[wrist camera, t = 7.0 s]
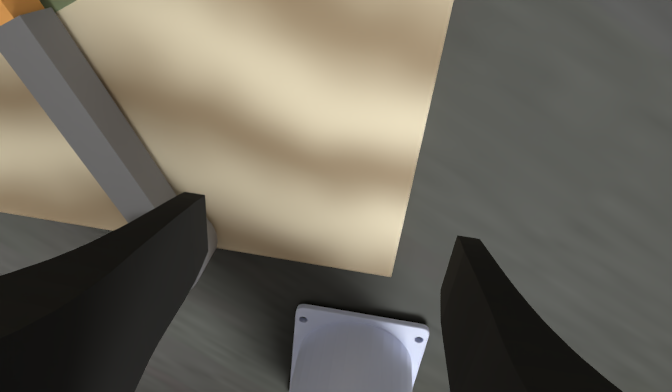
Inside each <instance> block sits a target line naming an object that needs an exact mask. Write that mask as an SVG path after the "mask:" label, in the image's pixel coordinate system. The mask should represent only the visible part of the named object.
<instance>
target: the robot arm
mask: <svg viewBox="0 0 672 392" xmlns="http://www.w3.org/2000/svg"><path fill="white" fill-rule="evenodd" d="M207 253H208V235H207V218H206V201H205V195H202V194H196V193H189V192H183V193H181V194H179V195H177V196H175V197H174V198H172V199H170V200H168V201H166V202H165V203H163V204H161V205H160V206H158V207H156V208H154V209H153V210H151V211H149V212H147V213H146V214H144V215H142V216H140V217H138V218H137V219H135V220H133V221H131V222H130V223H128V224H126V225H124V226H122V227H120V228H118V229H116V230H114V231H112V232H110V233H108V234H106V235H104V236H102V237H100V238H98V239H96V240H94V241H92V242H90V243H88V244H86V245H84V246H81V247H79V248H77V249H74V250H72V251H69V252H67V253H65V254H62V255H60V256H57V257H55V258H52V259H49V260H47V261H44V262H41V263H38V264H35V265H32V266H29V267H26V268H23V269H20V270H17V271H14V272H11V273H8V274H5V275H1V276H0V392H135V389H136V387H137V385H138V383H139V381H140V379H141V376H142V374H143V372H144V370H145V368H146V366H147V364H148V362H149V359H150V357H151V355H152V354H153V352H154V350H155V348H156V346H157V344H158V343H159V341H160V339H161V338H162V336H163V334H164V333H165V331H166V329H167V328H168V326H169V324H170V323H171V321H172V320H173V318H174V316H175V315H176V313H177V311H178V310H179V308H180V306H181V305H182V303H183V301H184V300H185V298H186V296H187V295H188V293H189V291H190V290H191V288H192V286H193V284H194V283H195V281H196V279H197V277H198V275H199V272H200V270H201V268H202V265H203V263H204V260H205V258H206V256H207ZM303 317H306V318H303ZM441 327H442V335H443V343H444V350H445V357H446V364H447V371H448V378H449V385H450V392H622V391H621V390H620V389H619V388H617V387H616V386H615V385H613V384H612V383H611V382H610V381H608V380H607V379H606V378H605V377H603V376H602V375H601V374H600V373H599V372H598V371H596V370H595V369H594V368H593V367H592V366H590V365H589V364H588V363H587V362H586V361H585V360H583V359H582V358H581V357H580V356H579V355H578V354H577V353H576V352H575V351H573V350H572V349H571V348H570V347H569V346H568V345H567V344H566V343H565V342H564V341H563V340H562V339H561V338H560V337H559V336H558V335H557V334H556V333H555V332H554V331H553V330H552V329H551V328H550V327H549V326H548V325H547V324H546V323H545V322H544V321H543V320H542V319H541V317H540V316H539V315H538V314H537V313H536V312H535V311H534V309H533V308H532V307H531V306H530V305H529V304H528V303H527V301H526V300H525V299H524V298H523V297H522V295H521V294H520V293H519V292H518V290H517V289H516V288H515V287H514V285H513V284H512V283H511V281H510V280H509V279H508V278H507V276H506V275H505V274H504V272H503V271H502V269H501V268H500V267H499V265H498V264H497V263H496V261H495V260H494V258H493V257H492V256H491V254H490V253H489V251H488V250H487V249H486V247H485V246H484V244H483V243H482V242H481V240H480V239H476V238H470V237H463V236H457V239H456V242H455V245H454V248H453V252H452V255H451V258H450V261H449V264H448V268H447V271H446V274H445V277H444V281H443V284H442V287H441ZM417 337H421V338H417ZM428 337H429V328H428V326H426V325H424V324H420V323H414V322H408V321H403V320H397V319H391V318H385V317H379V316H373V315H368V314H362V313H356V312H350V311H344V310H339V309H333V308H327V307H321V306H315V305H309V304H300V305H298V306H297V309H296V315H295V327H294V340H293V352H292V364H291V377H290V389H289V392H412V388H413V385H414V382H415V378H416V375H417V372H418V369H419V366H420V363H421V359H422V356H423V353H424V350H425V347H426V343H427V340H428Z"/></svg>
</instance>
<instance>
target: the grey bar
mask: <svg viewBox="0 0 672 392" xmlns="http://www.w3.org/2000/svg"><path fill="white" fill-rule="evenodd" d="M0 53H1V54H2V55H3V57H4V58H5V59H6V61H7V62H8V63H9V65H10V66H11V67H12V69H13V70H14V71H15V73H16V74H17V75H18V77H19V78H20V79H21V81H22V82H23V83H24V85H25V86H26V87H27V89H28V90H29V91H30V93H31V94H32V95H33V97H34V98H35V99H36V101H37V102H38V103H39V105H40V106H41V107H42V109H43V110H44V111H45V113H46V114H47V115H48V117H49V118H50V119H51V121H52V122H53V123H54V125H55V126H56V127H57V129H58V130H59V131H60V133H61V134H62V135H63V137H64V138H65V139H66V141H67V142H68V143H69V145H70V146H71V147H72V149H73V150H74V151H75V153H76V154H77V155H78V157H79V158H80V159H81V161H82V162H83V163H84V165H85V166H86V167H87V169H88V170H89V171H90V173H91V174H92V175H93V177H94V178H95V179H96V181H97V182H98V183H99V185H100V186H101V187H102V189H103V190H104V191H105V193H106V194H107V195H108V197H109V198H110V199H111V201H112V202H113V203H114V205H115V206H116V207H117V209H118V210H119V211H120V213H121V214H122V215H123V217H124V218H125V219H126V221H127V222H128V223H130V222H131V221H133V220H135V219H137V218H138V217H140V216H142V215H144V214H146V213H147V212H149V211H151V210H153V209H154V208H156V207H158V206H160V205H161V204H163V203H165V202H166V201H168V200H170V199H172V198H174V197H175V196H177V195H176V194H175V192H174V191H173V189H172V188H171V186H170V185H169V183H168V182H167V180H166V179H165V177H164V176H163V174H162V173H161V171H160V170H159V168H158V167H157V165H156V164H155V162H154V161H153V159H152V158H151V156H150V155H149V153H148V152H147V150H146V149H145V147H144V146H143V144H142V143H141V141H140V140H139V138H138V137H137V135H136V134H135V132H134V131H133V129H132V128H131V126H130V125H129V123H128V122H127V120H126V119H125V117H124V116H123V114H122V113H121V111H120V110H119V108H118V107H117V105H116V104H115V102H114V101H113V99H112V98H111V96H110V95H109V93H108V92H107V90H106V89H105V87H104V86H103V84H102V83H101V81H100V80H99V78H98V77H97V75H96V74H95V72H94V71H93V69H92V68H91V66H90V65H89V63H88V62H87V60H86V59H85V57H84V56H83V54H82V53H81V51H80V50H79V48H78V47H77V45H76V44H75V42H74V41H73V39H72V38H71V36H70V35H69V33H68V32H67V30H66V29H65V27H64V26H63V24H62V23H61V21H60V20H59V18H58V17H57V15H56V14H55V12H54V11H53V9H52V8H51V7H50V8H46V9H45V8H44V7H43V5H42V4H41V2H40V1H39V0H0ZM207 235H208V253H207V256H206V258H205V260H204V263H203V265H202V268H201V270H200V272H199V275H198V277H197V279H196V281H195V283H194V284H193V286H192V288H193V287H194V286H195V285H196V283H197V281H198V280H199V278H200V276H201V274H202V272H203V271H204V269H205V267H206V265H207V264H208V262H209V260H210V258H211V257H212V255H213V253H214V251H215V249H216V247H217V242H218V239H217V234H216V231H215V229H214V227H213V225H212V224H211V222H210V221H209V220H208V219H207ZM192 288H191V289H192Z"/></svg>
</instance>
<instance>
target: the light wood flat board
mask: <svg viewBox="0 0 672 392" xmlns="http://www.w3.org/2000/svg"><path fill="white" fill-rule="evenodd" d="M39 1H40V2H41V4H42V5H43V7H44V8H45V9H46V8H50V7H51V8H52V9H53V11H54V12H55V14H56V15H57V17H58V18H59V20H60V21H61V23H62V24H63V26H64V27H65V29H66V30H67V32H68V33H69V35H70V36H71V38H72V39H73V41H74V42H75V44H76V45H77V47H78V48H79V50H80V51H81V53H82V54H83V56H84V57H85V59H86V60H87V62H88V63H89V65H90V66H91V68H92V69H93V71H94V72H95V74H96V75H97V77H98V78H99V80H100V81H101V83H102V84H103V86H104V87H105V89H106V90H107V92H108V93H109V95H110V96H111V98H112V99H113V101H114V102H115V104H116V105H117V107H118V108H119V110H120V111H121V113H122V114H123V116H124V117H125V119H126V120H127V122H128V123H129V125H130V126H131V128H132V129H133V131H134V132H135V134H136V135H137V137H138V138H139V140H140V141H141V143H142V144H143V146H144V147H145V149H146V150H147V152H148V153H149V155H150V156H151V158H152V159H153V161H154V162H155V164H156V165H157V167H158V168H159V170H160V171H161V173H162V174H163V176H164V177H165V179H166V180H167V182H168V183H169V185H170V186H171V188H172V189H173V191H174V192H175V194H176V195H179V194H181V193H183V192H189V193H196V194H202V195H205V201H206V218H207V219H208V220H209V221H210V222H211V224H212V225H213V227H214V229H215V231H216V234H217V239H218V242H217V247H216V248H220V249H226V250H232V251H238V252H244V253H250V254H256V255H262V256H268V257H274V258H280V259H286V260H292V261H298V262H304V263H310V264H316V265H322V266H328V267H334V268H340V269H346V270H352V271H358V272H364V273H370V274H376V275H382V276H388V277H391V275H392V271H393V266H394V262H395V258H396V253H397V249H398V244H399V240H400V235H401V231H402V227H403V222H404V218H405V213H406V209H407V204H408V200H409V196H410V191H411V187H412V182H413V178H414V173H415V169H416V164H417V160H418V156H419V151H420V147H421V142H422V138H423V133H424V129H425V125H426V120H427V116H428V111H429V107H430V102H431V98H432V94H433V89H434V85H435V80H436V76H437V71H438V67H439V63H440V58H441V54H442V49H443V45H444V40H445V36H446V32H447V27H448V23H449V18H450V14H451V9H452V5H453V1H454V0H39ZM0 212H4V213H10V214H16V215H22V216H28V217H34V218H40V219H46V220H52V221H58V222H64V223H70V224H76V225H82V226H88V227H94V228H100V229H106V230H112V231H114V230H116V229H118V228H120V227H122V226H124V225H126V224H128V222H127V221H126V219H125V218H124V217H123V215H122V214H121V213H120V211H119V210H118V209H117V207H116V206H115V205H114V203H113V202H112V201H111V199H110V198H109V197H108V195H107V194H106V193H105V191H104V190H103V189H102V187H101V186H100V185H99V183H98V182H97V181H96V179H95V178H94V177H93V175H92V174H91V173H90V171H89V170H88V169H87V167H86V166H85V165H84V163H83V162H82V161H81V159H80V158H79V157H78V155H77V154H76V153H75V151H74V150H73V149H72V147H71V146H70V145H69V143H68V142H67V141H66V139H65V138H64V137H63V135H62V134H61V133H60V131H59V130H58V129H57V127H56V126H55V125H54V123H53V122H52V121H51V119H50V118H49V117H48V115H47V114H46V113H45V111H44V110H43V109H42V107H41V106H40V105H39V103H38V102H37V101H36V99H35V98H34V97H33V95H32V94H31V93H30V91H29V90H28V89H27V87H26V86H25V85H24V83H23V82H22V81H21V79H20V78H19V77H18V75H17V74H16V73H15V71H14V70H13V69H12V67H11V66H10V65H9V63H8V62H7V61H6V59H5V58H4V57H3V55H2V54H1V53H0Z"/></svg>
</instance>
